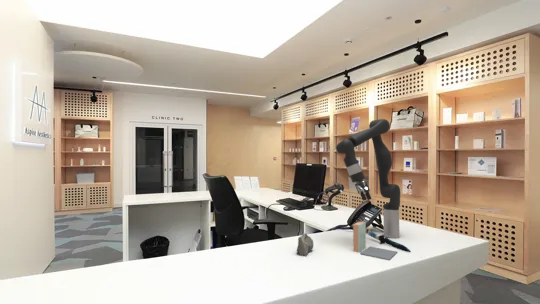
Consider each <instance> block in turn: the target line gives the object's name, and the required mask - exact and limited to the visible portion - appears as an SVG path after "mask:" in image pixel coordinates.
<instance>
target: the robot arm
mask: <svg viewBox="0 0 540 304" xmlns="http://www.w3.org/2000/svg"><path fill="white" fill-rule="evenodd" d="M390 128H391V124H390V122H389V120H387V119H385V118H381V119H375V120H372V121H370V122H369V125H368V128H367V129H364V130H360V131H358V132H356V133H354V134H353V135H351V136H350V137H348V138H345V139H343V140H342V141H340V142H338V143H337V144H336V146H335V150H336V152H337V153H338V154H339V155H340V154H341V155H345V157H344V158H343V162H344V164H345V167H346V170H347V173H348V175H349V178H350V180H351V183H353V184H354V186H355V188H356V191H357V194H358V195H360V197H361V200H362V201H363V202H364V201H366V200H367V201H370V200H372V196H371V193H370V191H371V190H370V188H369V186H368V183H367V181H366V180H364V179H366V177H365V174H364V171H363V170H362V167H361V165H360V164H359V162H358V159H357V157H356V150H355V148H356V147H359V146H361V145H362V144H364V143H365V142H368V141H369V140H371V141H372V144H373V150H374V154H375V155H374V156H375V162H376V167H377V173H378V178H379V181H378V183H379V192H380V195H381V197H383V198H384V199H389V201H388V202H386V203H384V204H383V207H382V208H383V209H382V210H383V212H382V213H383V217H382V218H383V235H384V238H385V237H387V238H388V239H389V238H390V239H398V238H400V206H401V205H400V204H401V187H400V186H399V184H395V183H389V174H390V171H391V169H392V166H393V159H392V158H393V157H392V154H391V151H390V150H389V148H388V147H387V146H386V144H385V143H384V141H383V139H382V135H383V134H386V133H388V132H389V130H390Z"/></svg>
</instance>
